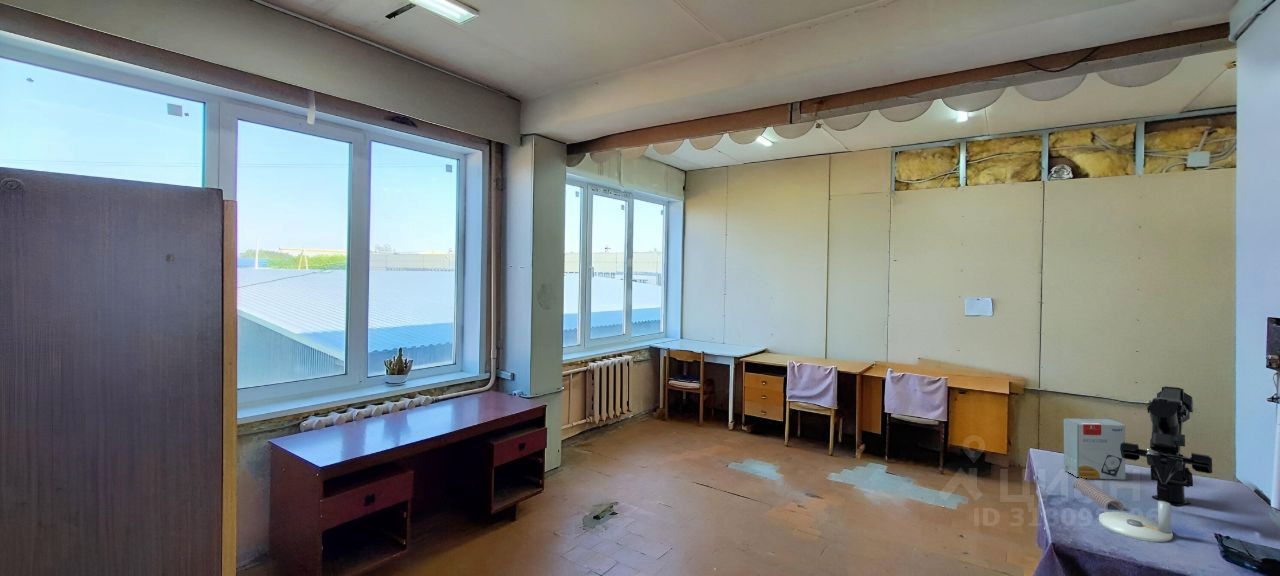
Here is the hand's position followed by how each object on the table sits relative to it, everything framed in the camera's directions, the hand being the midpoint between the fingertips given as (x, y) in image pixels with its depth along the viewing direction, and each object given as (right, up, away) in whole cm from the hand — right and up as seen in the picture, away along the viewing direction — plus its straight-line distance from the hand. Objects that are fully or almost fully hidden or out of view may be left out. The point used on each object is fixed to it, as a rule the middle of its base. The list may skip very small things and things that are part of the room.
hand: (1163, 483), depth 146 cm
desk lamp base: (-10, -12, -2) cm, 16 cm away
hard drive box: (+14, -12, +38) cm, 42 cm away
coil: (-3, -13, +18) cm, 22 cm away
